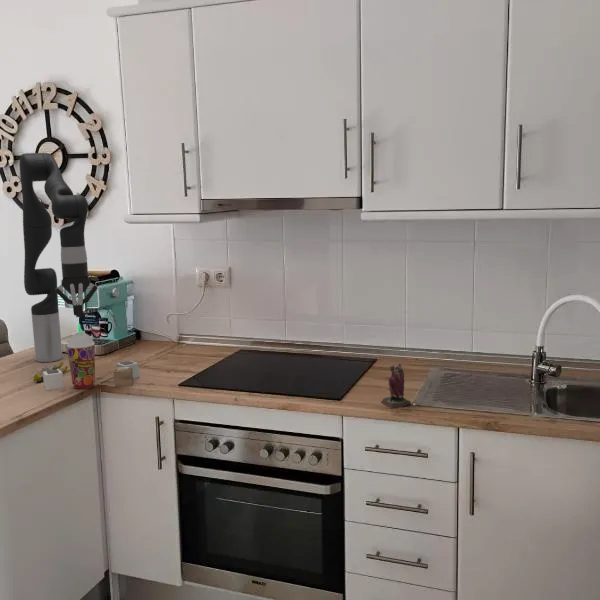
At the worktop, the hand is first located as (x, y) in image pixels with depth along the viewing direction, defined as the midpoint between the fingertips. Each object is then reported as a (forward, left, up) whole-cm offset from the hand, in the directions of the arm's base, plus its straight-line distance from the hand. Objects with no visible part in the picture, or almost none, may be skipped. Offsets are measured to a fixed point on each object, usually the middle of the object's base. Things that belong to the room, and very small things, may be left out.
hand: (78, 316), depth 216 cm
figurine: (+55, +81, -23) cm, 101 cm away
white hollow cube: (-3, -9, -22) cm, 24 cm away
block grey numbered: (-4, +14, -22) cm, 27 cm away
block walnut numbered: (+3, +12, -22) cm, 26 cm away
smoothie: (0, 0, -23) cm, 23 cm away
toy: (-16, -10, -23) cm, 30 cm away
